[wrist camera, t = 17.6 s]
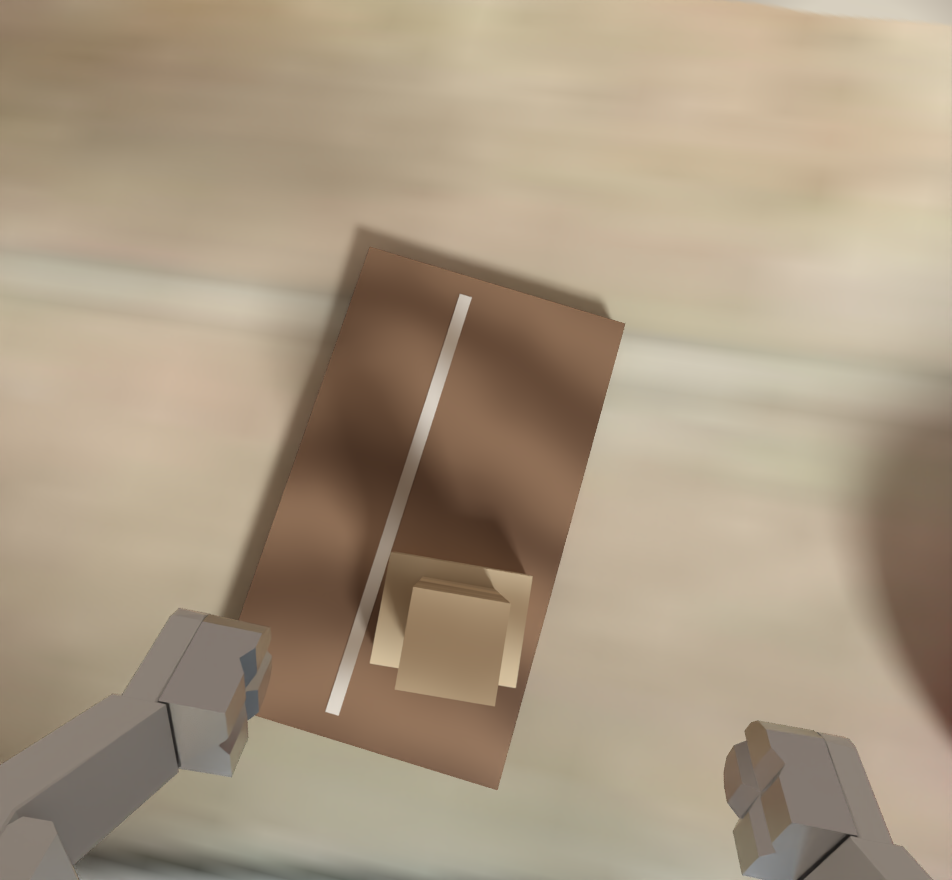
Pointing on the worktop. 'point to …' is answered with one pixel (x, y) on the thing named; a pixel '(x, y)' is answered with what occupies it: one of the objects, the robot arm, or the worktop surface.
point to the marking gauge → (451, 627)
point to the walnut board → (425, 497)
